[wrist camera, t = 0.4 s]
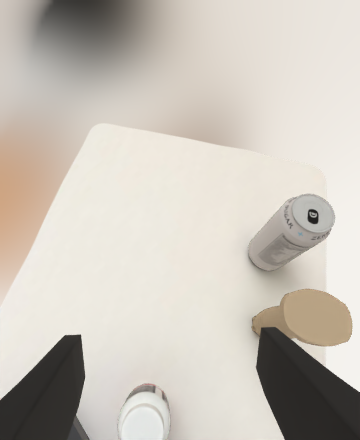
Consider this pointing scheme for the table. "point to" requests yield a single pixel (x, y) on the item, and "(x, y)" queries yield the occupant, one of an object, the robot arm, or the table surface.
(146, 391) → the pill bottle
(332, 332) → the handle
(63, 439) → the robot arm
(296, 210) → the energy drink can
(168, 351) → the table surface
